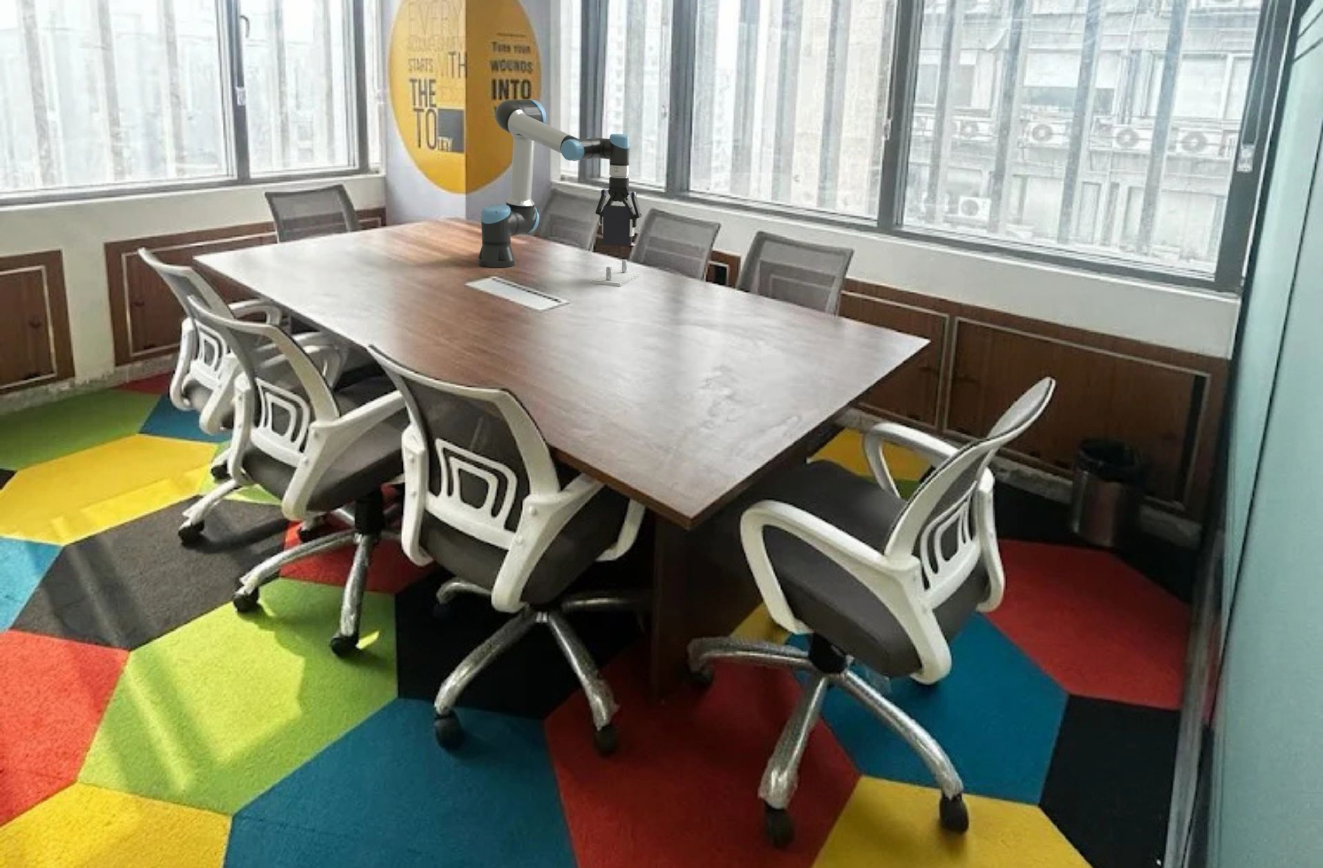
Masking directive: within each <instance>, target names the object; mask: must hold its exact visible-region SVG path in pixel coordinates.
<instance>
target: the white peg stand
mask: <svg viewBox="0 0 1323 868" xmlns="http://www.w3.org/2000/svg"><path fill="white" fill-rule="evenodd" d="M627 265H628V259H622V260H621V270H618V269H612V267H611V266H607V267H605V268H606V270H605V271H606V272H604V273H603V274H601V275H599V276H596V277H595V278H592V279H591V280H590V281H591V284H598V285H604V286H612V287H622V286H624V285H626V284H628V283H630V282H632V281H633V280H635V279H638V278H639V277H641V276H640V275H642V273H641V272H638V271H631V270H628V268H627V267H628V266H627Z"/></svg>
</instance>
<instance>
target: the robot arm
mask: <svg viewBox="0 0 1323 868" xmlns="http://www.w3.org/2000/svg"><path fill="white" fill-rule="evenodd" d="M494 118H495V122H496V123H497V125H498V126H499V128H501V129H502V130H504V131H505V132H508V133H510V135H511V136H512V138H513V143H512V146H513V147H512V162H511V177H510V178H511V179H510V196H509V198H507V199H506V201H505V202H506V203H505V204H492V205H491V204H490V205H487V206H485V207H484V208H482V210H481V213H480V214H481V217H480V223H481V225H480V227H481V244H482V245H481V248H480V251H479V255H478V257H477V258H478V259H477V261H478V262H477V264H478V265H479V266H481V267H482V266H483V267H485V268H486V267H487V268H509V267H512V266H515V265H516V257H515V254H514V252H513V248H512V242H511V241H512V240H511V237H513V236H514V237H515V236H521V235H523V236H524V235H527V234H529V233H530V234H531V233H532V232H534V231H535V230H536V229H538V228H537V227H538V225H539V222H540V213H539V212H538V209H537V208H536V206H535V202H534V201H533V199H532V193H533V192H532V190H533V177H534V176H533V175H534V174H533V173H534V159H535V147H536V146H535V145H536V143H538V144H540V145H542V146H544V147H546V148H549V149H551V150H554V151H555V152H557V153H559V154H561V156H562V157H563V158H564V160H566V161H573V162H578V161H583V160H593V159H594V160H595V159H600V160H601V159H603V160H608V161H609V162H608V163H609V167H608V168H609V169H608V174H609V178H608V189H606V188H603V189H601V191H600V198H599V201H598V204H597V206H596V210H595V214H596V215H598V216H599V224H600V225H601V234H602V235H603V207H604V203H605V202H606V198H607V196H608V195H609V198H608V200H607V202H606V203H605V205H607V206H609V205H612V204H613V203H614V202H619V203H622V204H623V206H626V208H627V210H628V212H629V214H630V215H631V217H632V219H630V237H632V238H633V237H634V236H635V228H637V224H638V223H637V220H638V219H639V218H642V216H643V215H642V212H641V209H640V205H639V201H638V198H637V191H630V190H629V186H630V185H629V184H630V178H629V176H630V152H631V151H630V149H631V145H630V144H631V143H630V136H629V135H628V134H625V133H612V134H610V135H609V138H604V137H598V136H589V137H586V138H578V137H575V136H573V135H571V134H569V133H566V132H565V131H562V130H560V129H558V128H556V127H554V126H551V125H550V124H547V114H546V109H545V108H544V106H543V104H541V102H539V101H538V100H535V99H530V98H528V99H527V98H525V99H524V98H522V99H506V100H503V101H502V102H500V103H499V104H498V105H497V107H496V109H495V114H494ZM628 197H630V198H631V199H630V200H631V202H630V200H629V198H628ZM631 203H632V204H631ZM632 205H633V206H632ZM630 207H633V208H632V210H631V209H630Z"/></svg>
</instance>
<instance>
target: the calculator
mask: <svg viewBox="0 0 1323 868" xmlns="http://www.w3.org/2000/svg"><path fill="white" fill-rule="evenodd" d="M632 208H633V209H634V207H633V206H632V207H630V209H631V210H632ZM602 210H603V234H602V245H603V246H612V247H613V246H618V247H631V246H632V243H633V242H632V241H633V236H632V237H630V219H632V217H631V215H630V214H629V212H628V210H627V208H626V206H625V205H615V204H614V205H612V204H611V205H609V206H607V205H606V204H605V205H603V207H602Z"/></svg>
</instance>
